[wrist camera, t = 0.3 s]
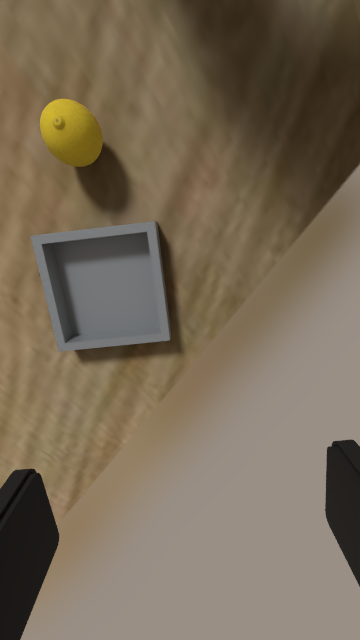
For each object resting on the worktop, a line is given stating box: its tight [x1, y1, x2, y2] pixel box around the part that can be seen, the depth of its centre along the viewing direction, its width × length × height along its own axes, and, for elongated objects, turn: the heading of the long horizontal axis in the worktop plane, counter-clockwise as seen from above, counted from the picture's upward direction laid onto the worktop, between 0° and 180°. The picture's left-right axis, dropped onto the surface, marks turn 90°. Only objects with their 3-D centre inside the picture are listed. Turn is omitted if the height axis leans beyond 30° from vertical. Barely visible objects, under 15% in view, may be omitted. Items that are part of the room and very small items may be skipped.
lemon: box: [40, 99, 102, 167], centre depth 29 cm, size 6×6×8 cm
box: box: [31, 221, 171, 352], centre depth 36 cm, size 14×14×4 cm
